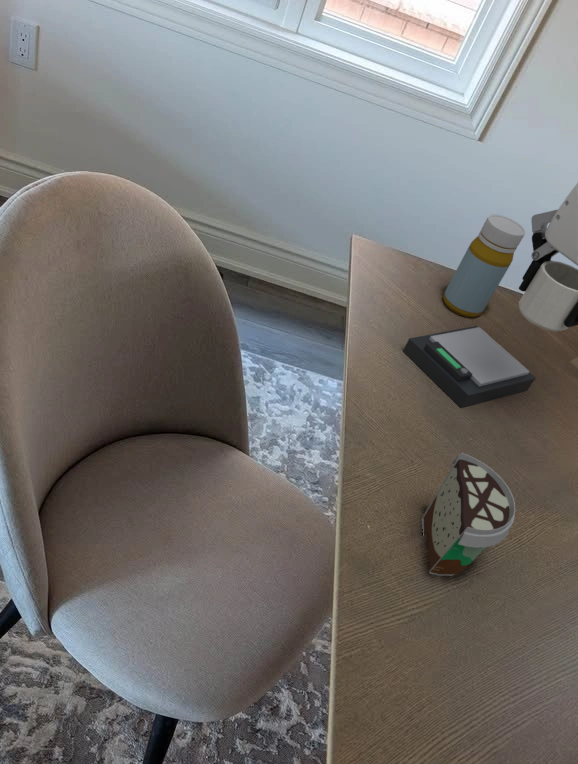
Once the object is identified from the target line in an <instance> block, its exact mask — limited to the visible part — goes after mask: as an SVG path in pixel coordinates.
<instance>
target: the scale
mask: <svg viewBox="0 0 578 764" xmlns="http://www.w3.org/2000/svg"><path fill="white" fill-rule="evenodd" d="M402 352H403V353H404V354H405V356H407V357H408V358H409V359H410V360H411V361H412V362H413V363H414V364H415V365H416V366H417V367H418V368H419V369H420V370H421V371H422V372H424V374H425V375H426V376H427V377H428V378H429V379H430V380H431V381H432V382H433V383H434V384H435V385H436V386H438V387H439V389H441V390H442V392H443V393H445V394H446V395H447V396H448V398H450V400H452V401H453V402H454V403H455V405H457V406H458V407H459V408H460V409H462V408H466V407H470V406H473V405H474V406H475V405H478V404H481V403H485V402H489V401H492V400H496V399H500V398H504V397H508V396H511V395H512V396H513V395H515V394H520V393H523V392H527V391H529V389H530V387H532V385H533V383H534V382H535V380H536V379H537V377H536V376H534V375H533V374H532V373H531V372H530V370H529V369H528V368H526V367H525V366H524V365H523V364H522V363H521V362H520V361H518V360H517V359H516V358H515V357H514V356H513V355H512V354H510V353H509V351H507V350H506V348H504V347H503V346H501V345H500V344H499V343H498V342H497V341H496V340H494V338H493V337H492V336H490V335H489V334H488V333H487V332H486V331H485V330H483V329H482V328H481V327H480V326H477V325H475V326H468V327H463V328H458V329H453V330H447V331H441V332H436V333H431V334H425V335H420V336H414V337H410V338H408V340H407V341H406V344H405V345H404V348H403V349H402Z"/></svg>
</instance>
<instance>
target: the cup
mask: <svg viewBox="0 0 578 764" xmlns="http://www.w3.org/2000/svg"><path fill="white" fill-rule="evenodd" d="M577 302H578V268H577V267H574V266H572V265H570V264H567V263H565V262H562V261H557V260H551V261H546V262H544V263H543V264H542V265H541V267H540V268H539V270H538V272H537V273H536V275H535V276H534V278H533V280H532V281H531V283H530V285H529V286H528V288H527V290H526V291H524V293H523V295H522V297H521V298H520V300H519V301H518V309H519V311H520V313H521V315H522V317H524V319H525V320H527V321H528V322H529V323H531V324H532V325H534V326H535V327H537V328H540V329H542V330H544V331H549V332H553V333H554V332H561V331H565V330H568V329H569V328H570V327H566V326H565V325H564V321H565V320H566V318H567V317H568V315H569V314H570V312H571V311H572V309H573V308H574V306H575V305H576V303H577Z"/></svg>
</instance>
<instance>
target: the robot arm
mask: <svg viewBox="0 0 578 764" xmlns="http://www.w3.org/2000/svg"><path fill="white" fill-rule="evenodd" d="M530 220H531V233H532V235H531V243H532V253H531V259H532V261H531V262H530V264H529V266H528V268H527V269H526V271H525V272H524V274H523V276H522V278H521V279H522V282H521V283H520V285H519V286H518V290H519V291H521V292H525V291H526V290H527V288H528V286H529V285H530V283H531V281H532V280H533V278H534V276H535V275H536V273H537V272H538V270H539V268H540V267H541V265H542V264H543V263H544V262H546V261H552V258H553V257H555V256H556V255H557V254H559V253H560V254H561V255H562V256H563V257H565V258H567V259H568V260H569V261H570V262H571V263H573V264H575V265H576V266H577V267H578V182H577V183H576V184H575V185H574V187H572V189H571V190H570V192H569V193H568V195H567V196H566V197H565V199H564V200H563V201H562V203H561V204H560V206H559V208H558V209H554V210H550V211H546V212H545V211H544V212H541V213H536V214H533V215H532V216H531V219H530ZM564 325H565V326H566V327H569V328H571V327H576V326H578V302H577V303H576V305H575V306H574V308H573V309H572V311H571V312H570V314H569V315H568V317H567V318H566V320H565V321H564Z"/></svg>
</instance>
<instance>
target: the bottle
mask: <svg viewBox="0 0 578 764" xmlns="http://www.w3.org/2000/svg"><path fill="white" fill-rule="evenodd" d="M525 235H526V229H525V228H524V227H523V225H521V224H520V223H519V222H517V221H515V220H514V219H512V218H510V217H508V216H505V215H500V214H490V215H488V216H487V218H486V219H485V221H484V223H483V224H482V227H481V230H480V231H479V233H478V235H477V236H476V237H475V238H474V239H473V240H472V241H471V242H470V244H469V245H468V248H467V249H466V252H465V253H464V255H463V257H462V259H461V261H460V263H459V264H458V267H457V268H456V270H455V272H454V273H453V276H452V278H451V279H450V281H449V283H448V285H447V287H446V289H445V291H444V293H443V296H442V299H443V301H444V304H445V306H446V308H448V309H449V310H450V311H452V312H453V313H455V314H457V315H459V316H462V317H464V318H465V317H466V318H475V317H478V316H480V315H482V314H483V312H484V311H485V309H486V306H487V305H488V303H489V302H490V301H491V299H492V297H493V295H494V294H495V292H496V290H497V289H498V287H499V285H500V283H501V281H502V280H503V278H504V276H505V275H506V273H507V272H508V269H510V267H511V264H512V262H513V260H514V254H515V252H516V251H517V248H518V247H519V245H520V243H521V242H522V241H523V238H524V237H525Z"/></svg>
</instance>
